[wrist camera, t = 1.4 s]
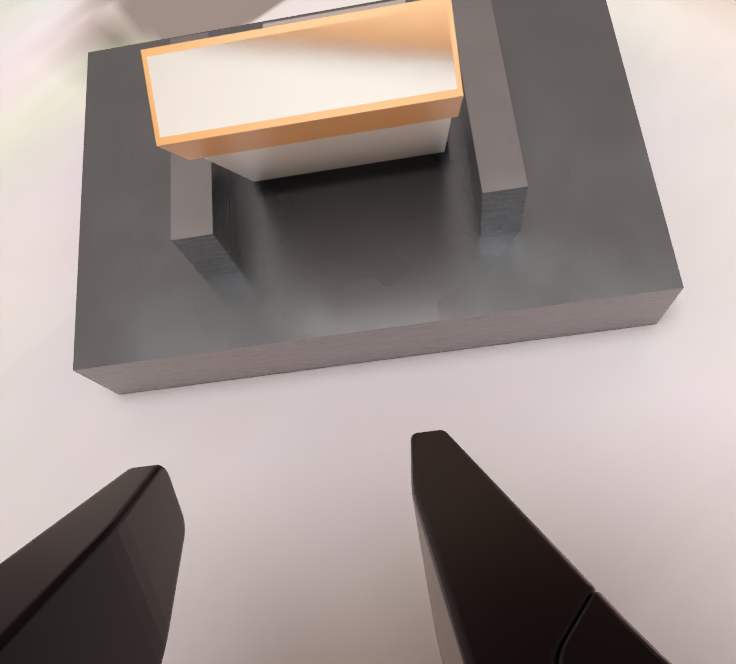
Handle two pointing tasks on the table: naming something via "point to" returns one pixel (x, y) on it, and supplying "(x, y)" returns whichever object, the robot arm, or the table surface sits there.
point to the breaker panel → (377, 220)
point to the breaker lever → (311, 92)
